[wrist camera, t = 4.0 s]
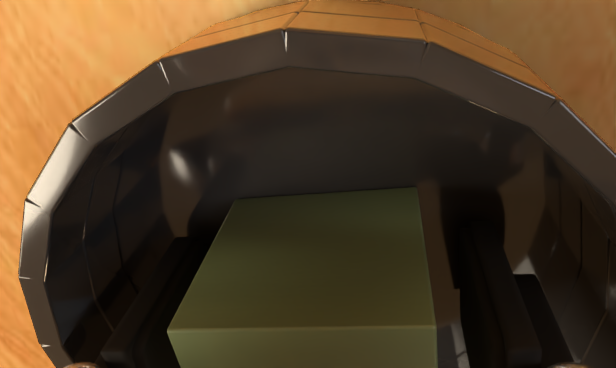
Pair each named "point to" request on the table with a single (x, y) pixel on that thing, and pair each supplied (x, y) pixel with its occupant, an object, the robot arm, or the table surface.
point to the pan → (324, 165)
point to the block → (312, 286)
